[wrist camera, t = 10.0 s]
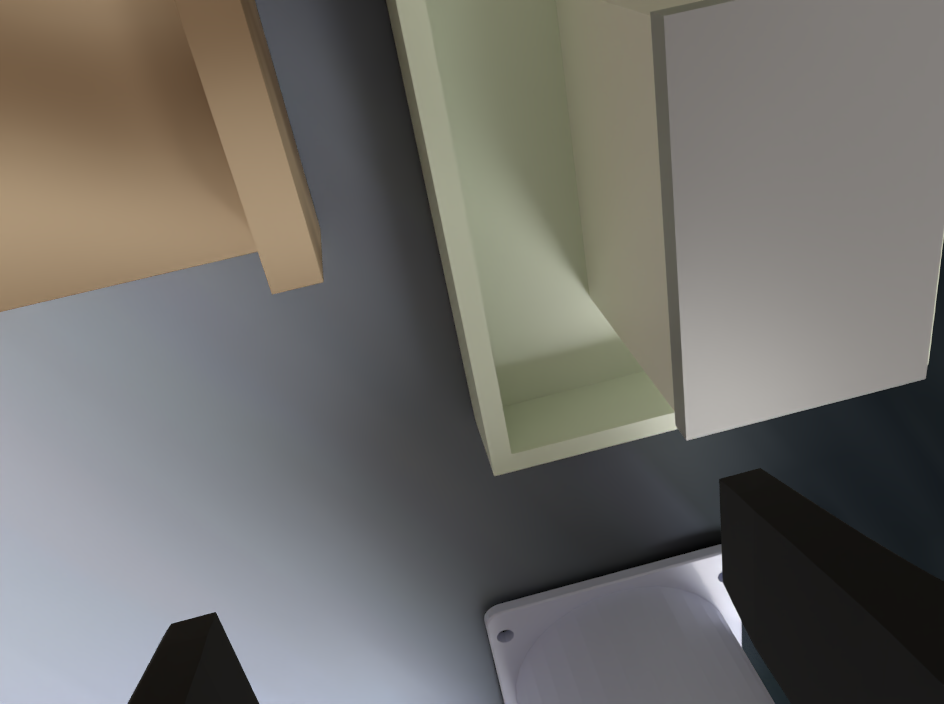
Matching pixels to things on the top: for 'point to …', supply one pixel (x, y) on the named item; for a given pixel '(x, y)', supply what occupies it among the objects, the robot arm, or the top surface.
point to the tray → (516, 232)
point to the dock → (144, 147)
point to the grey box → (760, 194)
